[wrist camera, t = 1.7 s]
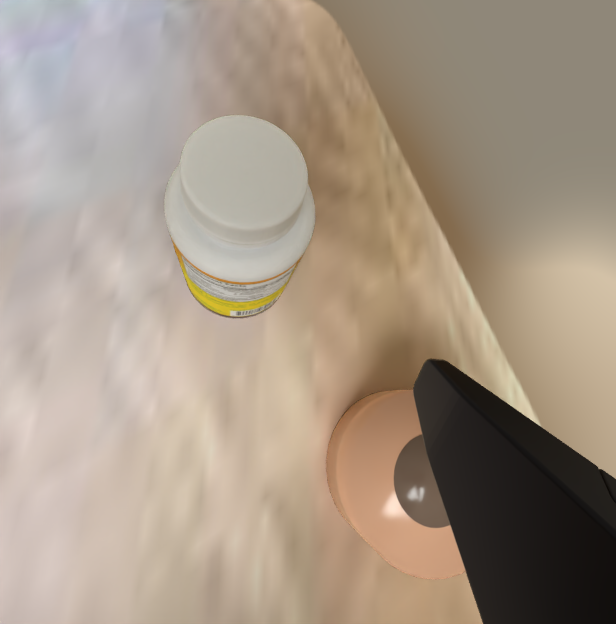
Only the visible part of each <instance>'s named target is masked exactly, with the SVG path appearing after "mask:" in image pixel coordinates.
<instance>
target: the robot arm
mask: <svg viewBox="0 0 616 624" xmlns="http://www.w3.org/2000/svg"><path fill="white" fill-rule="evenodd" d="M413 395H414V400H415V404H416V409H417V413H418V418H419V422H420V427H421V431H422V436H423V440H424V445H425V449H426V453H427V456H428V459H429V463H430V466H431V469H432V472H433V475H434V478H435V481H436V484H437V487H438V490H439V493H440V496H441V499H442V502H443V505H444V508H445V511H446V514H447V517H448V520H449V523H450V526H451V529H452V532H453V535H454V538H455V541H456V544H457V547H458V550H459V553H460V556H461V559H462V562H463V565H464V568H465V571H466V574H467V577H468V580H469V583H470V586H471V589H472V592H473V595H474V598H475V601H476V604H477V607H478V610H479V613H480V616H481V619H482V622H483V624H616V479H615V478H613V477H612V476H611V475H609V474H608V473H606V472H605V471H603V470H602V469H598V467H597V466H596V465H595V464H593V463H592V462H590V461H589V460H588V459H586V458H585V457H583V456H582V455H580V454H579V453H577V452H576V451H574V450H573V449H572V448H570V447H569V446H567V445H566V444H565V443H563V442H562V441H560V440H559V439H557V438H556V437H555V436H553V435H552V434H550V433H549V432H547V431H546V430H545V429H543V428H542V427H540V426H539V425H537V424H536V423H534V422H533V421H532V420H530V419H529V418H527V417H526V416H524V415H523V414H522V413H520V412H519V411H517V410H516V409H514V408H513V407H512V406H510V405H509V404H507V403H506V402H504V401H503V400H502V399H500V398H499V397H497V396H496V395H494V394H493V393H492V392H490V391H489V390H487V389H486V388H484V387H483V386H481V385H480V384H479V383H477V382H476V381H474V380H473V379H471V378H470V377H469V376H467V375H466V374H464V373H463V372H461V371H460V370H459V369H457V368H456V367H454V366H453V365H451V364H450V363H449V362H447V361H445V360H439V359H428V360H426V361H425V363H424V365H423V367H422V369H421V371H420V373H419V375H418V377H417V379H416V382H415V384H414V388H413Z"/></svg>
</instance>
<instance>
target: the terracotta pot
mask: <svg viewBox="0 0 616 624" xmlns="http://www.w3.org/2000/svg"><path fill="white" fill-rule="evenodd" d="M326 472H327V480H328V485H329V489H330V493H331V495H332V498H333V500H334V503H335V505H336V506H337V508H338V510H339V512H340V513H341V515H342V516H343V517H344V519H345V520H346V521H347V522H348V523H349V524H350V525H351V526H352V527H353V528H354V530H355V531H356V532H357V533H358V534H359V535H360V536H361V537H362V538H363V539H364V540H365V541H366V542H367V543H368V544H369V545H370V546H371V547H372V548H373V549H374V550H375V551H376V552H377V553H378V554H379V555H380V556H381V557H382V558H383V559H384V560H386V561H387V562H388V563H389V564H391V565H392V566H393V567H395V568H397V569H398V570H400V571H402V572H404V573H406V574H409V575H412V576H414V577H419V578H423V579H444V578H449V577H453V576H457V575H459V574H461V573H463V572H466V571H465V568H464V565H463V562H462V559H461V556H460V553H459V550H458V547H457V544H456V541H455V538H454V535H453V532H452V529H451V526H450V523H449V520H448V517H447V514H446V511H445V508H444V505H443V502H442V499H441V496H440V493H439V490H438V487H437V484H436V481H435V478H434V475H433V472H432V469H431V466H430V463H429V459H428V456H427V453H426V449H425V445H424V440H423V436H422V431H421V427H420V422H419V418H418V413H417V409H416V404H415V400H414V395H413V390H389V391H381V392H377V393H374V394H371V395H368V396H366V397H364V398H362V399H361V400H359V401H358V402H356V403H355V404H354V405H353V406H351V407H350V408H349V409H348V410H347V411H346V413H345V414H344V415H343V416H342V418H341V419H340V420H339V422H338V424H337V426H336V427H335V429H334V431H333V434H332V437H331V439H330V443H329V447H328V452H327V461H326Z"/></svg>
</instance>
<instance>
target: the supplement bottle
mask: <svg viewBox="0 0 616 624" xmlns="http://www.w3.org/2000/svg"><path fill="white" fill-rule="evenodd" d="M164 212H165V219H166V223H167V228H168V230H169V233H170V236H171V239H172V242H173V245H174V248H175V252H176V254H177V257H178V259H179V262H180V265H181V268H182V271H183V274H184V276H185V280H186V282H187V285H188V287H189V289H190V291H191V293H192V294H193V296H194V297H195V299H196V300H197V301H198V302H199V303H200V304H201V305H202V306H203V307H204V308H206V309H207V310H209V311H210V312H212V313H214V314H216V315H219V316H222V317H226V318H232V319H243V318H249V317H253V316H256V315H258V314H260V313H262V312H264V311H266V310H267V309H268V308H270V307H271V306H272V305H273V304H274V303H275V302H276V301H277V299H278V298H279V297H280V295H281V294H282V292H283V290H284V288H285V286H286V285H287V283H288V281H289V279H290V277H291V276H292V274H293V272H294V270H295V268H296V267H297V265H298V263H299V261H300V259H301V258H302V256H303V254H304V252H305V250H306V248H307V246H308V244H309V242H310V240H311V237H312V234H313V231H314V226H315V204H314V199H313V196H312V192H311V189H310V187H309V185H308V171H307V166H306V162H305V160H304V157H303V155H302V153H301V151H300V149H299V147H298V146H297V145H296V143H295V142H294V141H293V140H292V138H291V137H290V136H289V135H288V134H286V133H285V132H284V131H283V130H282V129H280V128H278V127H277V126H275V125H273V124H272V123H270V122H268V121H265V120H263V119H260V118H256V117H252V116H246V115H229V116H223V117H219V118H215V119H213V120H211V121H208V122H207V123H205V124H203V125H202V126H200V127H199V128H198V129H197V130H196V131H194V132H193V133H192V135H191V136H190V137H189V138H188V140H187V142H186V144H185V145H184V148H183V151H182V153H181V158H180V164H179V165H178V166H177V168H176V169H175V170H174V172H173V174H172V175H171V177H170V179H169V182H168V184H167V188H166V191H165V197H164Z"/></svg>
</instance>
